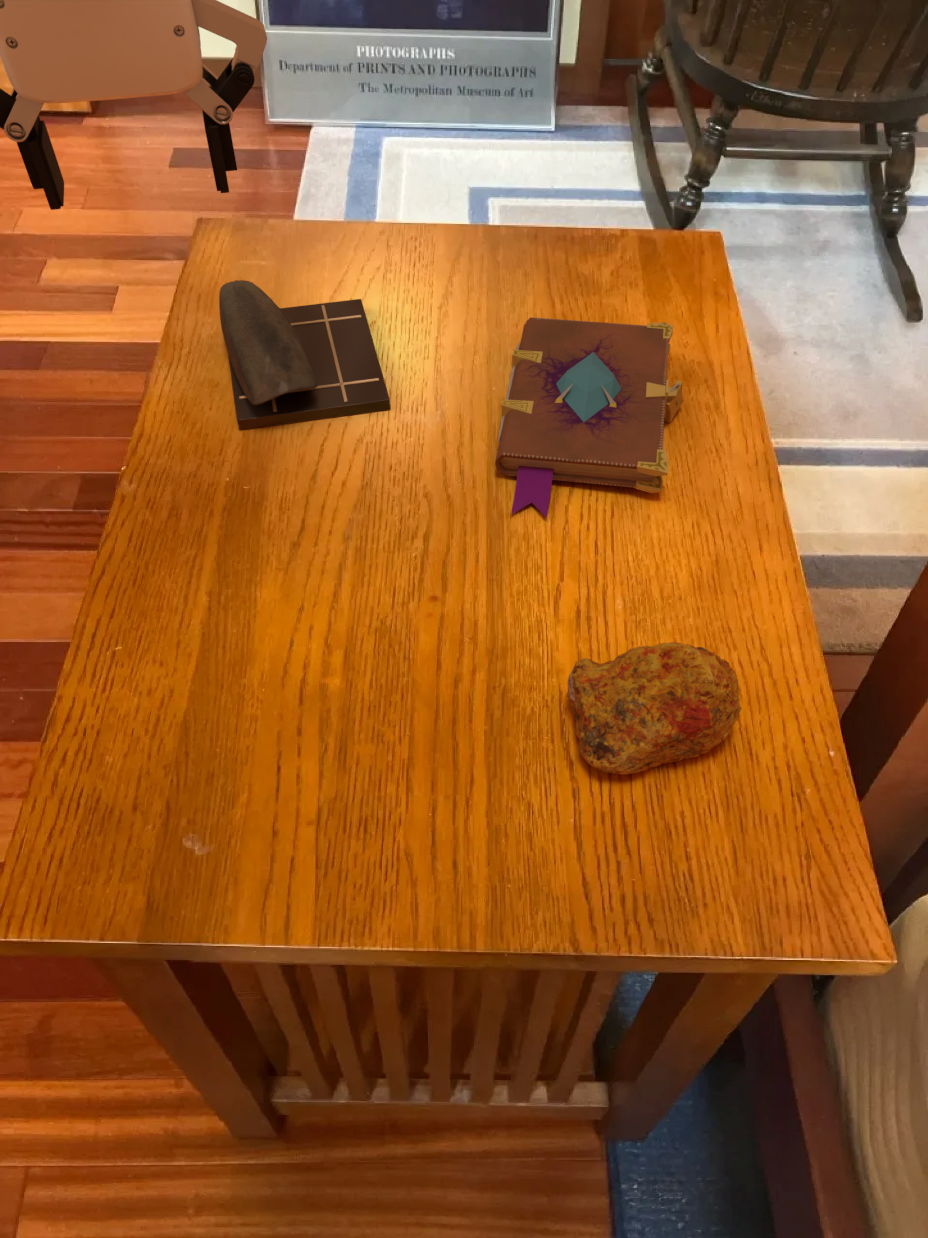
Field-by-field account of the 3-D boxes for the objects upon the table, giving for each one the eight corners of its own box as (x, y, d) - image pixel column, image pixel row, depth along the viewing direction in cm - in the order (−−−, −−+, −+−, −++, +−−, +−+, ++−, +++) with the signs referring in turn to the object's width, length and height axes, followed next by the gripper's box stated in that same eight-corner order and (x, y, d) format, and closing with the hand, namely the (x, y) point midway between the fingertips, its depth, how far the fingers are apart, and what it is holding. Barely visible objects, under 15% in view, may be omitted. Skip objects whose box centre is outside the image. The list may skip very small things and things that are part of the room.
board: (239, 430, 85) (236, 419, 84) (224, 324, 94) (222, 313, 93) (390, 409, 87) (389, 398, 86) (361, 308, 96) (361, 297, 95)
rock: (656, 811, 68) (574, 775, 61) (611, 725, 73) (532, 684, 67) (779, 718, 64) (704, 669, 57) (721, 635, 70) (648, 582, 63)
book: (484, 520, 80) (483, 478, 76) (521, 344, 95) (522, 301, 91) (676, 539, 78) (686, 497, 74) (683, 356, 93) (692, 313, 89)
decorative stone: (325, 406, 85) (320, 369, 82) (257, 424, 83) (249, 387, 80) (269, 301, 94) (263, 265, 91) (207, 316, 93) (198, 279, 89)
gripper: (230, -203, 46) (278, 145, 60) (-147, -191, 43) (-6, 171, 57) (245, -157, 42) (292, 207, 55) (-173, -140, 39) (-14, 238, 53)
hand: (141, 189), depth 56 cm, fingers open, 9 cm apart
